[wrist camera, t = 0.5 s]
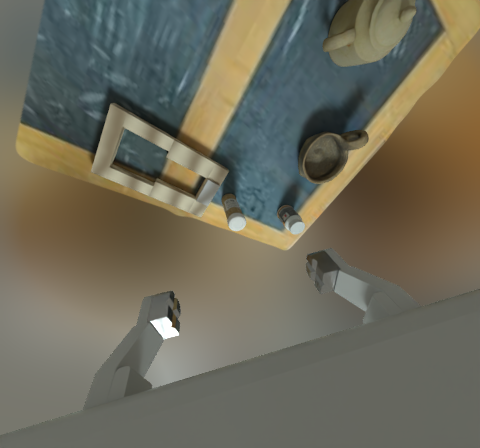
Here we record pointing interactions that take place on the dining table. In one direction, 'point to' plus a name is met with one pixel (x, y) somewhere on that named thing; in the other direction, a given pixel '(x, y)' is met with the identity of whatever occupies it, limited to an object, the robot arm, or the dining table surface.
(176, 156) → the keyhole board
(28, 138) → the dining table surface
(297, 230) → the pill bottle
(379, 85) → the dining table surface
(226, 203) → the sprinkles bottle
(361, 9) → the sugar bowl
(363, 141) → the bowl
